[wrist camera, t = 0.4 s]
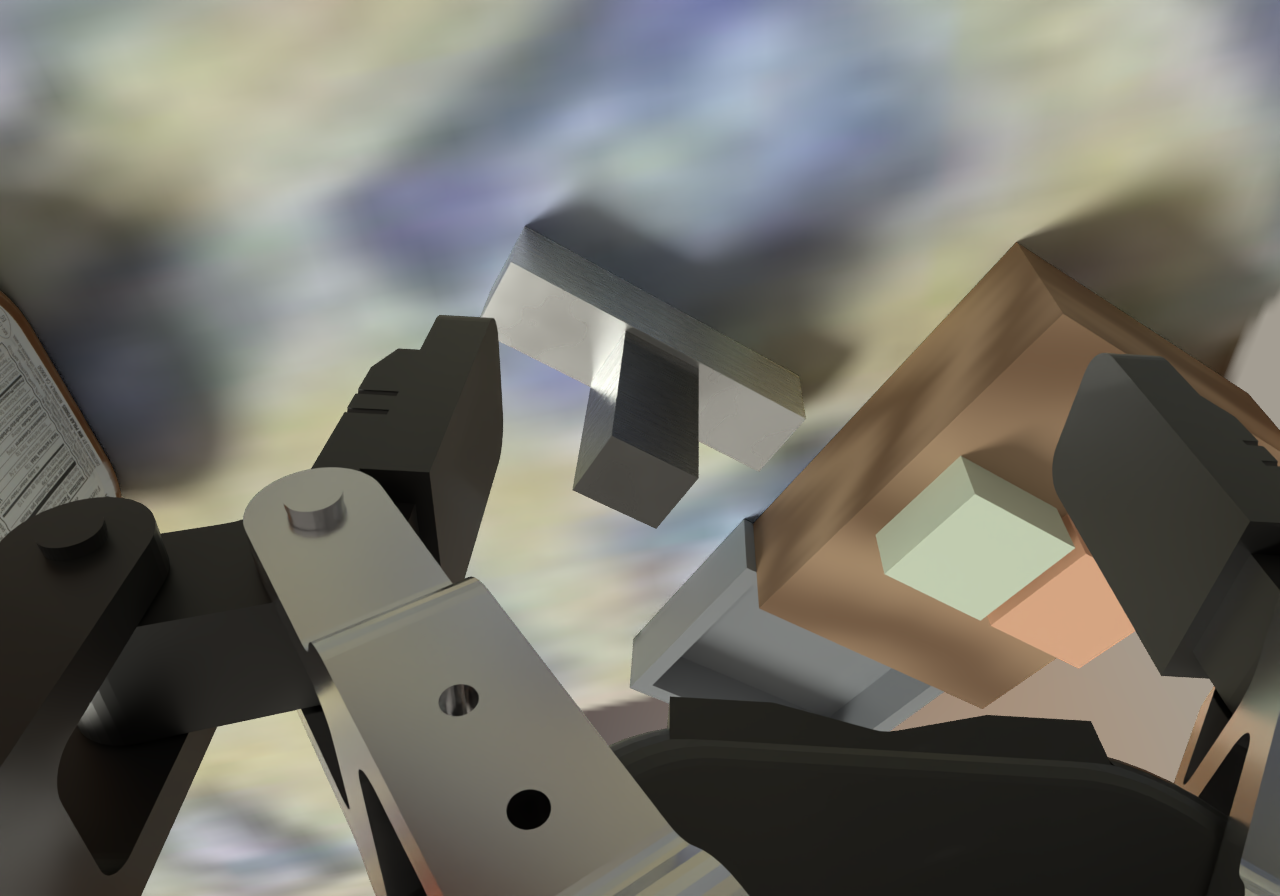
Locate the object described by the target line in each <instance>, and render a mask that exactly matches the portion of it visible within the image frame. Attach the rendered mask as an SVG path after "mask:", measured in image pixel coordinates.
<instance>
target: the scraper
mask: <svg viewBox="0 0 1280 896" xmlns="http://www.w3.org/2000/svg"><path fill="white" fill-rule="evenodd" d="M480 317H486V318H494V319H495V321H496V324H497V329H498V340H499V341H500V342H502V343H504V344H506V345H508V346H510V347H512V348H514V349H516V350H518V351H520V352H522V353H524V354H526V355H528V356H530V357H532V358H534V359H536V360H538V361H540V362H542V363H544V364H546V365H548V366H550V367H552V368H554V369H556V370H558V371H560V372H562V373H564V374H566V375H568V376H570V377H572V378H574V379H576V380H578V381H580V382H582V383H584V384H586V385H588V386H590V387H591V388H590V394H589V399H588V405H587V411H586V416H585V422H584V428H583V433H582V439H581V445H580V450H579V456H578V462H577V467H576V473H575V479H574V484H573V491H576V492H578V493H580V494H582V495H584V496H586V497H589V498H591V499H593V500H595V501H597V502H599V503H602V504H604V505H606V506H608V507H610V508H612V509H615V510H617V511H619V512H621V513H623V514H625V515H627V516H630V517H632V518H634V519H636V520H638V521H640V522H643V523H645V524H647V525H649V526H651V527H653V528H657V527H658V526H659V525H660V523H661V522H662V521H663V520H664V519H665V518H666V516H667V515H668V514H669V513H670V512H671V510H672V509H673V508H674V507H675V506H676V504H677V503H678V502H679V501H680V500H681V498H682V497H683V496H684V495H685V494H686V492H687V491H688V490H689V489H690V488H691V487H692V485H693V484H694V483H695V482H696V481H697V479H698V466H699V442H701V443H703V444H705V445H707V446H709V447H711V448H713V449H715V450H717V451H719V452H721V453H723V454H725V455H727V456H729V457H731V458H733V459H735V460H737V461H739V462H741V463H743V464H745V465H747V466H749V467H751V468H753V469H755V470H757V471H760V470H761V469H762V468H763V466H764V465H765V464H766V463H767V462H768V461H769V460H770V459H771V457H772V456H773V455H774V454H775V453H776V452H777V451H778V450H779V449H780V447H781V446H782V445H783V444H784V443H785V442H786V441H787V440H788V438H789V437H790V436H791V435H792V434H793V433H794V432H795V431H796V429H797V428H798V427H799V426H800V425H801V424H802V423H803V422H804V420H805V419H806V416H805V410H804V404H803V397H802V391H801V385H800V378H799V375H797V374H795V373H793V372H791V371H789V370H788V369H786V368H784V367H782V366H780V365H778V364H777V363H775V362H773V361H771V360H769V359H767V358H766V357H764V356H762V355H760V354H758V353H756V352H755V351H753V350H751V349H749V348H747V347H746V346H744V345H742V344H740V343H738V342H736V341H735V340H733V339H731V338H729V337H727V336H725V335H724V334H722V333H720V332H718V331H716V330H714V329H713V328H711V327H709V326H707V325H705V324H703V323H702V322H700V321H698V320H696V319H694V318H692V317H691V316H689V315H687V314H685V313H683V312H681V311H680V310H678V309H676V308H674V307H672V306H671V305H669V304H667V303H665V302H663V301H661V300H660V299H658V298H656V297H654V296H652V295H650V294H649V293H647V292H645V291H643V290H641V289H639V288H638V287H636V286H634V285H632V284H630V283H628V282H627V281H625V280H623V279H621V278H619V277H617V276H616V275H614V274H612V273H610V272H608V271H607V270H605V269H603V268H601V267H599V266H597V265H596V264H594V263H592V262H590V261H588V260H586V259H585V258H583V257H581V256H579V255H577V254H575V253H574V252H572V251H570V250H568V249H566V248H564V247H563V246H561V245H559V244H557V243H555V242H553V241H552V240H550V239H548V238H546V237H544V236H542V235H541V234H539V233H537V232H535V231H533V230H532V229H530V228H528V227H526V226H524V228H523V230H522V232H521V234H520V236H519V238H518V239H517V241H516V243H515V245H514V247H513V249H512V251H511V253H510V255H509V256H508V258H507V260H506V262H505V264H504V266H503V268H502V270H501V272H500V273H499V275H498V277H497V279H496V281H495V283H494V285H493V287H492V289H491V291H490V293H489V296H488V298H487V301H486V303H485V306H484V308H483V311H482V313H481V316H480Z"/></svg>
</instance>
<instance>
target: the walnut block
mask: <svg viewBox="0 0 1280 896" xmlns="http://www.w3.org/2000/svg"><path fill="white" fill-rule="evenodd" d="M1100 353H1115V354H1133V355H1151V356H1161V357H1163V358H1165V359H1166V360H1167V361H1168V362H1169V363H1170V364H1171V365H1172V366H1173V367H1174V368H1175V369H1176V370H1177V371H1178V372H1179V373H1180V374H1181V376H1182V377H1183V378H1184V379H1185V380H1186V381H1187V382H1188V383H1189V384H1190V385H1191V386H1192V387H1193V388H1194V389H1195V390H1196V392H1197V393H1198V394H1199V395H1200V396H1202V397H1204V398H1205V399H1207V400H1209V401H1210V402H1212V403H1213V404H1215V405H1217V406H1218V407H1220V408H1222V409H1223V410H1225V411H1227V412H1228V413H1230V414H1231V415H1233V416H1235V417H1236V418H1237V419H1238V420H1239V421H1240V422H1241V423H1242V424H1243V425H1244V427H1245V428H1246V429H1247V430H1248V431H1249V432H1250V433H1251V434H1252V435H1253V436H1254V437H1255V438H1256V439H1257V440H1258V441H1259V442H1258V446H1264V447H1265V448H1266V449H1267V450H1268V451H1269V452H1270V454H1271V455H1272V456H1273V457H1274V458H1275V459H1276V460H1277V461H1278V463H1277V465H1278V466H1280V430H1279V429H1278V428H1277V427H1276V426H1275V424H1274V423H1273V422H1272V421H1271V419H1270V418H1269V417H1268V416H1267V415H1266V414H1265V412H1264V411H1263V410H1262V409H1261V408H1260V407H1259V406H1258V404H1257V403H1256V402H1255V401H1254V400H1253V399H1252V397H1251V396H1250V395H1249V394H1248V393H1247V392H1245V391H1243V390H1242V389H1240V388H1239V387H1237V386H1236V385H1234V384H1233V383H1231V382H1230V381H1228V380H1227V379H1225V378H1224V377H1222V376H1221V375H1219V374H1217V373H1216V372H1214V371H1213V370H1211V369H1210V368H1208V367H1207V366H1205V365H1204V364H1202V363H1201V362H1199V361H1198V360H1196V359H1194V358H1193V357H1191V356H1190V355H1188V354H1187V353H1185V352H1184V351H1182V350H1181V349H1179V348H1178V347H1176V346H1175V345H1173V344H1172V343H1170V342H1168V341H1167V340H1165V339H1164V338H1162V337H1161V336H1159V335H1158V334H1156V333H1155V332H1153V331H1152V330H1150V329H1149V328H1147V327H1146V326H1144V325H1142V324H1141V323H1139V322H1138V321H1136V320H1135V319H1133V318H1132V317H1130V316H1129V315H1127V314H1126V313H1124V312H1123V311H1121V310H1119V309H1118V308H1116V307H1115V306H1113V305H1112V304H1110V303H1109V302H1107V301H1106V300H1104V299H1103V298H1101V297H1100V296H1098V295H1097V294H1095V293H1093V292H1092V291H1090V290H1089V289H1087V288H1086V287H1084V286H1083V285H1081V284H1080V283H1078V282H1077V281H1075V280H1074V279H1072V278H1071V277H1069V276H1067V275H1066V274H1064V273H1063V272H1061V271H1060V270H1058V269H1057V268H1055V267H1054V266H1052V265H1051V264H1049V263H1048V262H1046V261H1044V260H1043V259H1041V258H1040V257H1038V256H1037V255H1035V254H1034V253H1032V252H1031V251H1029V250H1028V249H1026V248H1025V247H1023V246H1022V245H1020V244H1018V243H1017V242H1016V243H1015V244H1014V245H1013V246H1012V247H1011V248H1010V250H1009V251H1008V252H1007V253H1006V254H1005V255H1004V256H1003V257H1002V258H1001V259H1000V260H999V261H998V262H997V263H996V265H995V266H994V267H993V268H992V269H991V270H990V271H989V272H988V273H987V274H986V275H985V276H984V277H983V278H982V279H981V281H980V282H979V283H978V284H977V285H976V286H975V287H974V288H973V289H972V290H971V291H970V292H969V293H968V294H967V296H966V297H965V298H964V299H963V300H962V301H961V302H960V303H959V304H958V305H957V306H956V307H955V308H954V309H953V310H952V312H951V313H950V314H949V315H948V316H947V317H946V318H945V319H944V320H943V321H942V322H941V323H940V324H939V325H938V327H937V328H936V329H935V330H934V331H933V332H932V333H931V334H930V335H929V336H928V337H927V338H926V339H925V340H924V342H923V343H922V344H921V345H920V346H919V347H918V348H917V349H916V350H915V351H914V352H913V353H912V354H911V355H910V356H909V358H908V359H907V360H906V361H905V362H904V363H903V364H902V365H901V366H900V367H899V368H898V369H897V370H896V371H895V373H894V374H893V375H892V376H891V377H890V378H889V379H888V380H887V381H886V382H885V383H884V384H883V385H882V386H881V387H880V389H879V390H878V391H877V392H876V393H875V394H874V395H873V396H872V397H871V398H870V399H869V400H868V401H867V402H866V404H865V405H864V406H863V407H862V408H861V409H860V410H859V411H858V412H857V413H856V414H855V415H854V416H853V417H852V419H851V420H850V421H849V422H848V423H847V424H846V425H845V426H844V427H843V428H842V429H841V430H840V431H839V432H838V433H837V435H836V436H835V437H834V438H833V439H832V440H831V441H830V442H829V443H828V444H827V445H826V446H825V447H824V448H823V450H822V451H821V452H820V453H819V454H818V455H817V456H816V457H815V458H814V459H813V460H812V461H811V462H810V463H809V465H808V466H807V467H806V468H805V469H804V470H803V471H802V472H801V473H800V474H799V475H798V476H797V477H796V478H795V479H794V481H793V482H792V483H791V484H790V485H789V486H788V487H787V488H786V489H785V490H784V491H783V492H782V493H781V494H780V496H779V497H778V498H777V499H776V500H775V501H774V502H773V503H772V504H771V505H770V506H769V507H768V508H767V509H766V510H765V512H764V513H763V514H762V515H761V516H760V517H759V518H758V519H757V520H756V521H755V522H754V523H753V529H754V544H755V558H756V573H757V587H758V602H759V609H761V610H764V611H766V612H768V613H770V614H772V615H775V616H777V617H779V618H781V619H784V620H786V621H788V622H790V623H792V624H795V625H797V626H799V627H801V628H804V629H806V630H808V631H810V632H812V633H815V634H817V635H819V636H821V637H824V638H826V639H828V640H830V641H832V642H835V643H837V644H839V645H841V646H844V647H846V648H848V649H850V650H852V651H855V652H857V653H859V654H861V655H864V656H866V657H868V658H870V659H872V660H875V661H877V662H879V663H881V664H884V665H886V666H888V667H890V668H892V669H895V670H897V671H899V672H901V673H904V674H906V675H908V676H910V677H912V678H915V679H917V680H919V681H921V682H924V683H926V684H928V685H930V686H933V687H935V688H937V689H939V690H941V691H944V692H946V693H948V694H950V695H953V696H955V697H957V698H959V699H961V700H964V701H966V702H968V703H970V704H973V705H975V706H977V707H979V708H981V709H983V708H984V707H986V706H987V705H989V704H990V703H992V702H993V701H995V700H996V699H998V698H999V697H1000V696H1002V695H1004V694H1005V693H1006V692H1008V691H1009V690H1011V689H1012V688H1014V687H1015V686H1017V685H1018V684H1020V683H1021V682H1022V681H1024V680H1025V679H1027V678H1028V677H1030V676H1031V675H1033V674H1034V673H1036V672H1037V671H1039V670H1040V669H1041V668H1043V667H1044V666H1046V665H1047V664H1049V663H1050V662H1052V661H1053V660H1055V659H1056V657H1054V656H1052V655H1050V654H1048V653H1046V652H1044V651H1042V650H1039V649H1037V648H1035V647H1033V646H1031V645H1029V644H1027V643H1025V642H1023V641H1021V640H1019V639H1017V638H1015V637H1013V636H1011V635H1009V634H1007V633H1005V632H1002V631H1000V630H998V629H996V628H994V627H992V626H990V623H989V620H988V617H987V616H986V617H985V618H983V619H982V620H981V621H980V620H978V619H976V618H974V617H972V616H970V615H967V614H965V613H963V612H961V611H959V610H957V609H955V608H953V607H951V606H949V605H947V604H945V603H943V602H941V601H939V600H937V599H935V598H932V597H930V596H928V595H926V594H924V593H922V592H920V591H918V590H916V589H914V588H912V587H910V586H908V585H906V584H904V583H902V582H900V581H898V580H895V579H893V578H891V577H889V576H887V575H885V574H884V570H883V566H882V561H881V557H880V552H879V548H878V544H877V539H876V534H877V533H878V532H879V531H880V530H881V529H882V528H883V527H884V526H886V525H887V524H888V523H889V522H890V521H891V520H892V519H893V518H894V517H895V516H896V515H897V514H898V513H900V512H901V511H902V510H903V509H904V508H905V507H906V506H907V505H908V504H909V503H910V502H911V501H912V500H914V499H915V498H916V497H917V496H918V495H919V494H920V493H921V492H922V491H923V490H924V489H925V488H926V487H928V486H929V485H930V484H931V483H932V482H933V481H934V480H935V479H936V478H937V477H938V476H939V475H940V474H941V473H943V472H944V471H945V470H946V469H947V468H948V467H949V466H950V465H951V464H952V463H953V462H954V461H955V460H957V459H958V458H959V457H960V456H962V457H964V458H966V459H968V460H970V461H971V462H973V463H975V464H977V465H979V466H981V467H982V468H984V469H986V470H988V471H990V472H991V473H993V474H995V475H997V476H999V477H1001V478H1002V479H1004V480H1006V481H1008V482H1010V483H1011V484H1013V485H1015V486H1017V487H1019V488H1021V489H1022V490H1024V491H1026V492H1028V493H1030V494H1031V495H1033V496H1035V497H1037V498H1039V499H1041V500H1042V501H1044V502H1046V503H1048V504H1050V505H1051V506H1053V507H1055V508H1057V510H1058V512H1059V514H1060V517H1061V518H1062V517H1064V516H1065V515H1066V514H1068V513H1067V511H1066V509H1065V508H1064V506H1063V504H1062V502H1061V501H1060V499H1059V497H1058V495H1057V493H1056V491H1055V488H1054V484H1053V477H1052V464H1053V457H1054V452H1055V449H1056V446H1057V443H1058V441H1059V438H1060V436H1061V433H1062V430H1063V428H1064V425H1065V423H1066V420H1067V417H1068V415H1069V412H1070V410H1071V407H1072V404H1073V402H1074V399H1075V397H1076V394H1077V391H1078V389H1079V386H1080V384H1081V381H1082V378H1083V376H1084V373H1085V371H1086V369H1087V367H1088V365H1089V363H1090V362H1091V360H1092V359H1093V358H1094V357H1095V356H1096V355H1098V354H1100Z"/></svg>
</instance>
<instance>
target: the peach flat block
mask: <svg viewBox="0 0 1280 896" xmlns="http://www.w3.org/2000/svg"><path fill="white" fill-rule="evenodd" d="M1061 519H1062V521H1063V523H1064V525H1065V527H1066V529H1067V531H1068V533H1069V536H1070V538H1071V540H1072V542H1073V544H1074V546H1075V549H1073V550H1072V551H1071V552H1069V553H1068V554H1067V555H1066V556H1064V557H1063V558H1062V559H1060V560H1059V561H1058V562H1056V563H1055V564H1054V565H1052V566H1051V567H1050V568H1049V569H1047V570H1046V571H1045V572H1043V573H1042V574H1041V575H1039V576H1038V577H1037V578H1036V579H1034V580H1033V581H1032V582H1030V583H1029V584H1028V585H1026V586H1025V587H1024V588H1022V589H1021V590H1020V591H1019V592H1017V593H1016V594H1015V595H1013V596H1012V597H1011V598H1009V599H1008V600H1007V601H1005V602H1004V603H1003V604H1002V605H1000V606H999V607H998V608H996V609H995V610H994V611H992V612H991V613H990V614H989V615H987V617H988V620H989V623H990V626H992V627H994V628H996V629H998V630H1000V631H1002V632H1005V633H1007V634H1009V635H1011V636H1013V637H1015V638H1017V639H1019V640H1021V641H1023V642H1025V643H1027V644H1029V645H1031V646H1033V647H1035V648H1037V649H1039V650H1042V651H1044V652H1046V653H1048V654H1050V655H1052V656H1054V657H1056V658H1058V659H1060V660H1062V661H1064V662H1066V663H1068V664H1070V665H1073V666H1075V667H1077V668H1080V667H1082V666H1083V665H1084V664H1086V663H1088V662H1089V661H1090V660H1092V659H1094V658H1095V657H1097V656H1098V655H1100V654H1101V653H1103V652H1104V651H1106V650H1107V649H1109V648H1110V647H1112V646H1113V645H1115V644H1116V643H1118V642H1119V641H1121V640H1122V639H1124V638H1125V637H1127V636H1128V635H1130V634H1131V633H1133V632H1134V631H1135V629H1134V628H1133V626H1132V624H1131V622H1130V621H1129V619H1128V617H1127V615H1126V614H1125V612H1124V610H1123V608H1122V607H1121V605H1120V603H1119V601H1118V600H1117V598H1116V596H1115V595H1114V593H1113V591H1112V589H1111V588H1110V586H1109V584H1108V582H1107V581H1106V579H1105V577H1104V575H1103V574H1102V572H1101V570H1100V568H1099V567H1098V565H1097V563H1096V562H1095V560H1094V558H1093V556H1092V555H1091V553H1090V551H1089V549H1088V548H1087V546H1086V544H1085V542H1084V541H1083V539H1082V537H1081V535H1080V534H1079V532H1078V530H1077V529H1076V527H1075V525H1074V523H1073V522H1072V520H1071V518H1070V516H1069V515H1068V514H1066V515H1065V516H1064V517H1062V518H1061Z"/></svg>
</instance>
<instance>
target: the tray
mask: <svg viewBox="0 0 1280 896" xmlns="http://www.w3.org/2000/svg"><path fill="white" fill-rule="evenodd" d="M630 688H631V689H634V690H636V691H639V692H641V693H644V694H646V695H649V696H651V697H654V698H656V699H659V700H662V701H664V702H666V703H669V701H670V696H671V697H688V698H705V699H722V700H739V701H756V702H773V703H777V704H780V705H784V706H788V707H792V708H795V709H799V710H803V711H806V712H810V713H814V714H818V715H821V716H825V717H829V718H832V719H836V720H840V721H843V722H847V723H851V724H855V725H858V726H862V727H866V728H869V729H873V730H878V731H887V732H889V731H891V730H892V729H894V728H895V727H896V726H898V725H899V724H900V723H902V722H903V721H905V720H906V719H907V718H909V717H910V716H911V715H913V714H914V713H915V712H917V711H918V710H920V709H921V708H922V707H924V706H925V705H927V704H928V703H929V702H931V701H932V700H934V699H935V698H936V697H938V696H939V695H940V694H942V693H943V692H944V691H941V690H939V689H937V688H935V687H933V686H930V685H928V684H926V683H924V682H921V681H919V680H917V679H915V678H912V677H910V676H908V675H906V674H904V673H901V672H899V671H897V670H895V669H892V668H890V667H888V666H886V665H884V664H881V663H879V662H877V661H875V660H872V659H870V658H868V657H866V656H864V655H861V654H859V653H857V652H855V651H852V650H850V649H848V648H846V647H844V646H841V645H839V644H837V643H835V642H832V641H830V640H828V639H826V638H824V637H821V636H819V635H817V634H815V633H812V632H810V631H808V630H806V629H804V628H801V627H799V626H797V625H795V624H792V623H790V622H788V621H786V620H784V619H781V618H779V617H777V616H775V615H772V614H770V613H768V612H766V611H764V610H761V609H759V602H758V587H757V573H756V558H755V544H754V529H753V523H751V522H749V521H746V520H743V521H742V522H741V523H740V524H739V525H738V526H737V527H736V528H735V530H734V531H733V532H732V533H731V534H730V535H729V536H728V537H727V538H726V539H725V540H724V541H723V543H722V544H721V545H720V546H719V547H718V548H717V549H716V550H715V551H714V552H713V553H712V554H711V556H710V557H709V558H708V559H707V560H706V561H705V562H704V563H703V564H702V565H701V566H700V568H699V569H698V570H697V571H696V572H695V573H694V574H693V575H692V576H691V577H690V578H689V579H688V581H687V582H686V583H685V584H684V585H683V586H682V587H681V588H680V589H679V590H678V591H677V592H676V594H675V595H674V596H673V597H672V598H671V599H670V600H669V601H668V602H667V603H666V604H665V606H664V607H663V608H662V609H661V610H660V611H659V612H658V613H657V614H656V615H655V616H654V617H653V619H652V620H651V621H650V622H649V623H648V624H647V625H646V626H645V627H644V628H643V629H642V630H641V632H640V633H639V634H638V635H637V636H636V637H635V638H634V639H633V652H632V665H631V679H630Z"/></svg>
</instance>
